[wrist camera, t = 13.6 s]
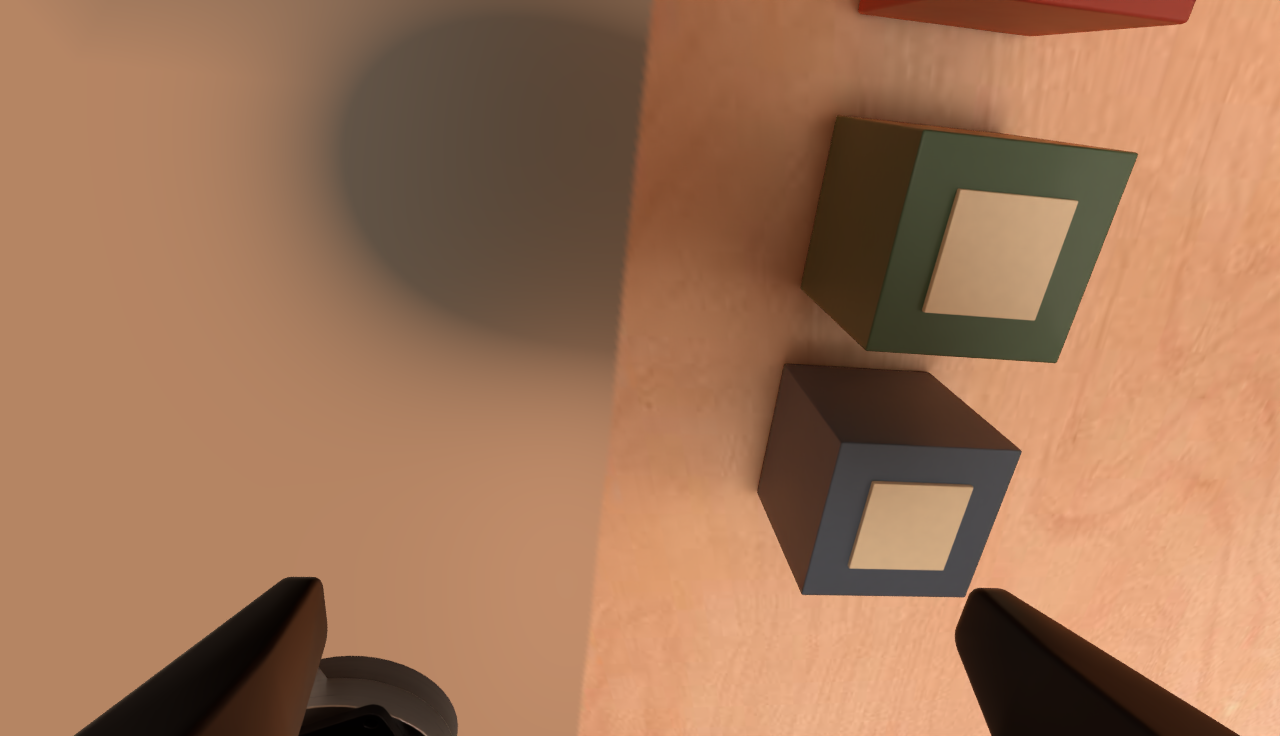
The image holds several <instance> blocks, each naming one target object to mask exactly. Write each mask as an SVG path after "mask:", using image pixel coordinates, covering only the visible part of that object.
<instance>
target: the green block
mask: <svg viewBox="0 0 1280 736" xmlns="http://www.w3.org/2000/svg"><path fill="white" fill-rule="evenodd" d="M1137 156H1138V154H1137V153H1135V152H1128V151H1121V150H1114V149H1107V148H1100V147H1093V146H1086V145H1079V144H1072V143H1065V142H1058V141H1051V140H1044V139H1037V138H1030V137H1023V136H1016V135H1009V134H1002V133H993V132H984V131H975V130H967V129H958V128H949V127H940V126H931V125H922V124H913V123H904V122H895V121H887V120H878V119H869V118H860V117H851V116H842V115H837V117H836V122H835V126H834V131H833V136H832V140H831V145H830V150H829V155H828V159H827V164H826V169H825V174H824V178H823V183H822V188H821V193H820V197H819V202H818V207H817V212H816V216H815V221H814V226H813V231H812V235H811V240H810V245H809V250H808V254H807V259H806V264H805V269H804V273H803V278H802V283H801V289H802V290H803V291H804V292H805V293H806V294H807V295H808V296H809V297H810V298H811V299H812V300H813V301H814V302H815V303H816V304H817V305H819V306H820V307H821V308H822V309H823V310H824V311H825V312H826V313H827V314H828V315H829V316H830V317H831V318H832V319H833V320H834V321H835V322H836V323H837V324H839V325H840V326H841V327H842V328H843V329H844V330H845V331H846V332H847V333H848V334H849V335H850V336H851V337H852V338H853V339H854V340H855V341H856V342H857V343H858V344H860V345H861V346H862V347H863V348H864V349H865V350H866V351H878V352H893V353H908V354H924V355H939V356H954V357H970V358H985V359H1001V360H1016V361H1031V362H1047V363H1056V362H1057V360H1058V358H1059V355H1060V353H1061V350H1062V348H1063V345H1064V343H1065V340H1066V337H1067V335H1068V332H1069V330H1070V327H1071V325H1072V322H1073V320H1074V317H1075V314H1076V312H1077V309H1078V307H1079V304H1080V302H1081V299H1082V297H1083V294H1084V291H1085V289H1086V286H1087V284H1088V281H1089V279H1090V276H1091V274H1092V271H1093V268H1094V266H1095V263H1096V261H1097V258H1098V256H1099V253H1100V251H1101V248H1102V245H1103V243H1104V240H1105V238H1106V235H1107V233H1108V230H1109V228H1110V225H1111V222H1112V220H1113V217H1114V215H1115V212H1116V210H1117V207H1118V205H1119V202H1120V199H1121V197H1122V194H1123V192H1124V189H1125V187H1126V184H1127V182H1128V179H1129V176H1130V174H1131V171H1132V169H1133V166H1134V164H1135V161H1136V159H1137Z"/></svg>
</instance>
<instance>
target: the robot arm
mask: <svg viewBox="0 0 1280 736" xmlns="http://www.w3.org/2000/svg"><path fill="white" fill-rule="evenodd" d="M326 638H327V617H326V609H325V600H324V592H323V585H322V583H321V581H320V580H319V579H318V578H316V577H287V578H285V579H283V580H281V581H280V582H278V583H277V584H276V585H274V586H273V587H272V588H270V589H269V590H268V591H266V592H265V593H264V594H262V595H261V596H260V597H258V598H257V599H256V600H254V601H253V602H252V603H250V604H249V605H248V606H246V607H245V608H244V609H242V610H241V611H240V612H238V613H237V614H236V615H234V616H233V617H232V618H230V619H229V620H227V621H226V622H225V623H223V624H222V625H221V626H220V627H218V628H217V629H216V630H214V631H213V632H211V633H210V634H209V635H207V636H206V637H205V638H204V639H202V640H201V641H200V642H198V643H197V644H195V645H194V646H193V647H191V648H190V649H189V650H187V651H186V652H185V653H184V654H182V655H181V656H179V657H178V658H177V659H175V660H174V661H173V662H171V663H170V664H169V665H167V666H166V667H165V668H163V669H162V670H161V671H160V672H158V673H157V674H155V675H154V676H153V677H151V678H150V679H149V680H147V681H146V682H145V683H144V684H142V685H141V686H139V687H138V688H137V689H135V690H134V691H133V692H131V693H130V694H129V695H127V696H126V697H125V698H123V699H122V700H121V701H119V702H118V703H117V704H115V705H114V706H113V707H112V708H110V709H109V710H107V711H106V712H105V713H103V714H102V715H101V716H99V717H98V718H97V719H95V720H94V721H93V722H91V723H90V724H89V725H87V726H86V727H85V728H83V729H82V730H81V731H79V732H78V733H77V734H76V735H74V736H405V734H404V733H403V732H402V730H401V729H400V728H399V726H398V725H397V723H396V722H395V721H394V719H393V718H392V717H391V715H390V714H389V713H388V711H387V710H386V709H385V708H384V707H383V706H380V705H376V704H370V705H366V706H362V707H359V708H356V709H353V710H350V711H347V712H343V713H340V714H337V715H334V716H331V717H328V718H325V719H321V720H318V721H315V722H312V723H309V724H306V725H302V722H303V718H304V715H305V711H306V708H307V705H308V701H309V698H310V694H311V691H312V688H313V684H314V681H315V677H316V674H317V671H318V667H319V664H320V660H321V657H322V654H323V650H324V647H325V643H326ZM955 642H956V647H957V650H958V652H959V655H960V657H961V660H962V662H963V665H964V667H965V670H966V673H967V675H968V678H969V680H970V683H971V685H972V688H973V690H974V693H975V695H976V698H977V700H978V703H979V705H980V708H981V710H982V713H983V715H984V718H985V720H986V723H987V725H988V728H989V731H990V733H991V736H1240V735H1238V734H1237V733H1235V732H1233V731H1232V730H1230V729H1229V728H1227V727H1225V726H1224V725H1222V724H1220V723H1219V722H1217V721H1216V720H1214V719H1212V718H1211V717H1209V716H1208V715H1206V714H1204V713H1203V712H1201V711H1199V710H1198V709H1196V708H1195V707H1193V706H1191V705H1190V704H1188V703H1187V702H1185V701H1183V700H1182V699H1180V698H1178V697H1177V696H1175V695H1174V694H1172V693H1170V692H1169V691H1167V690H1166V689H1164V688H1162V687H1161V686H1159V685H1158V684H1156V683H1154V682H1153V681H1151V680H1149V679H1148V678H1146V677H1145V676H1143V675H1141V674H1140V673H1138V672H1137V671H1135V670H1133V669H1132V668H1130V667H1128V666H1127V665H1125V664H1124V663H1122V662H1120V661H1119V660H1117V659H1116V658H1114V657H1112V656H1111V655H1109V654H1108V653H1106V652H1104V651H1103V650H1101V649H1099V648H1098V647H1096V646H1095V645H1093V644H1091V643H1090V642H1088V641H1087V640H1085V639H1083V638H1082V637H1080V636H1079V635H1077V634H1075V633H1074V632H1072V631H1070V630H1069V629H1067V628H1066V627H1064V626H1062V625H1061V624H1059V623H1058V622H1056V621H1054V620H1053V619H1051V618H1049V617H1048V616H1046V615H1045V614H1043V613H1041V612H1040V611H1038V610H1037V609H1035V608H1033V607H1032V606H1030V605H1029V604H1027V603H1025V602H1024V601H1022V600H1020V599H1019V598H1017V597H1016V596H1014V595H1012V594H1011V593H1009V592H1007V591H1006V590H1003V589H998V588H977V589H974V590H973V591H972V592H971V593H970V594H969V596H968V599H967V601H966V604H965V606H964V609H963V611H962V614H961V617H960V619H959V622H958V624H957V627H956V630H955ZM301 725H302V726H301Z"/></svg>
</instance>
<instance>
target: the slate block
mask: <svg viewBox="0 0 1280 736" xmlns="http://www.w3.org/2000/svg"><path fill="white" fill-rule="evenodd" d="M1020 455H1021V450H1020V449H1019V448H1018V447H1016V446H1015V445H1014V444H1013V443H1012V442H1011V441H1009V440H1008V439H1007V438H1006V437H1005V436H1003V435H1002V434H1001V433H1000V432H999V431H997V430H996V429H995V428H994V427H993V426H992V425H990V424H989V423H988V422H987V421H986V420H984V419H983V418H982V417H981V416H980V415H979V414H977V413H976V412H975V411H974V410H973V409H971V408H970V407H969V406H968V405H967V404H966V403H964V402H963V401H962V400H961V399H960V398H958V397H957V396H956V395H955V394H954V393H953V392H951V391H950V390H949V389H948V388H947V387H945V386H944V385H943V384H942V383H941V382H939V381H938V380H937V379H936V378H935V377H934V376H932V375H931V374H930V373H927V372H911V371H895V370H878V369H862V368H846V367H830V366H813V365H797V364H785V365H784V369H783V373H782V378H781V383H780V388H779V392H778V397H777V402H776V407H775V411H774V416H773V421H772V425H771V430H770V435H769V440H768V444H767V449H766V454H765V459H764V463H763V468H762V473H761V478H760V482H759V487H758V492H757V493H758V495H759V498H760V500H761V502H762V505H763V507H764V509H765V511H766V514H767V516H768V518H769V521H770V523H771V525H772V527H773V530H774V532H775V534H776V537H777V539H778V541H779V543H780V546H781V548H782V550H783V553H784V555H785V557H786V559H787V562H788V564H789V566H790V569H791V571H792V573H793V575H794V578H795V580H796V582H797V584H798V587H799V589H800V591H801V594H803V595H852V596H918V597H965V595H966V593H967V590H968V588H969V585H970V583H971V580H972V578H973V575H974V572H975V570H976V567H977V565H978V562H979V560H980V557H981V555H982V552H983V549H984V547H985V544H986V542H987V539H988V537H989V534H990V531H991V529H992V526H993V524H994V521H995V519H996V516H997V514H998V511H999V508H1000V506H1001V503H1002V501H1003V498H1004V496H1005V493H1006V491H1007V488H1008V485H1009V483H1010V480H1011V478H1012V475H1013V473H1014V470H1015V468H1016V465H1017V462H1018V460H1019V457H1020Z"/></svg>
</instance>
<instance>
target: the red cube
mask: <svg viewBox="0 0 1280 736" xmlns="http://www.w3.org/2000/svg"><path fill="white" fill-rule="evenodd" d="M1195 1H1196V0H860V4H859V9H858V12H859V13H860V14H866V15H873V16H881V17H888V18H896V19H904V20H911V21H919V22H926V23H934V24H942V25H949V26H957V27H964V28H972V29H980V30H987V31H995V32H1002V33H1010V34H1018V35H1025V36H1040V35H1052V34H1065V33H1077V32H1089V31H1102V30H1114V29H1127V28H1139V27H1151V26H1164V25H1176V24H1183V23H1185V22H1187V20H1188V19H1189V16H1190V14H1191V11H1192V9H1193V6H1194V4H1195Z"/></svg>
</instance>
